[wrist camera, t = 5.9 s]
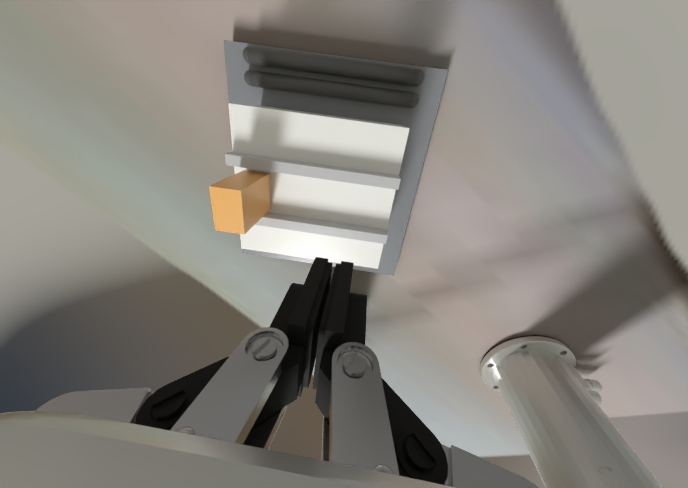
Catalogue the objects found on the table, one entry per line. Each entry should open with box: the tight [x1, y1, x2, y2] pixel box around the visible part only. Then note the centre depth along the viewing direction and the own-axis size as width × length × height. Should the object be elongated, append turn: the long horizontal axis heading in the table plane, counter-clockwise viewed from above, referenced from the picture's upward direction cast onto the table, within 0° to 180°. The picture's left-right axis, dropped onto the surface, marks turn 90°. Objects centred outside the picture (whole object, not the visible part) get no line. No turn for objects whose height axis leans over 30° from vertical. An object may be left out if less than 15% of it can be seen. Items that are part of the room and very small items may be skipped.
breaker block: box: [224, 40, 448, 276], centre depth 23 cm, size 19×21×9 cm
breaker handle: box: [209, 170, 271, 234], centre depth 18 cm, size 2×3×5 cm, turn 173°
